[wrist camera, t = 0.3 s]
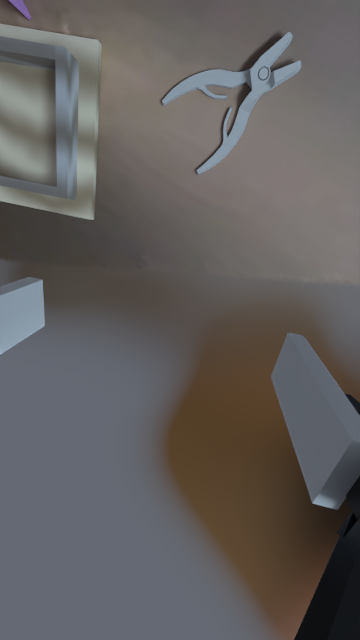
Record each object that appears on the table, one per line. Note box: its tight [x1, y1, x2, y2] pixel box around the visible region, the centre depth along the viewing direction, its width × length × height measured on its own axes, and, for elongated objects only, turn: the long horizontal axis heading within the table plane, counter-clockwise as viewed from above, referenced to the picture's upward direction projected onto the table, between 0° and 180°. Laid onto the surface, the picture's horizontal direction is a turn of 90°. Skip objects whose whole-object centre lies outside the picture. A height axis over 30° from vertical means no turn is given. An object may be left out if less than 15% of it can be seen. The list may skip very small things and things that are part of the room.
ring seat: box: [0, 24, 102, 220], centre depth 33 cm, size 20×20×4 cm
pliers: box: [162, 32, 301, 174], centre depth 31 cm, size 10×2×15 cm
